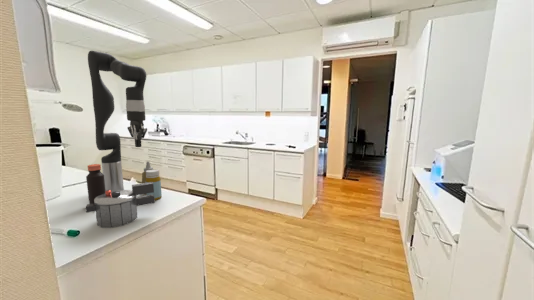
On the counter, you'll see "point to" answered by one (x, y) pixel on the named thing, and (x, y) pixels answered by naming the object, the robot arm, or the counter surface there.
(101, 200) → the lid
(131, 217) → the pot
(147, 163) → the squeeze bottle
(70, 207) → the counter surface
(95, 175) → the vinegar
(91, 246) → the counter surface
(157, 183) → the bottle
